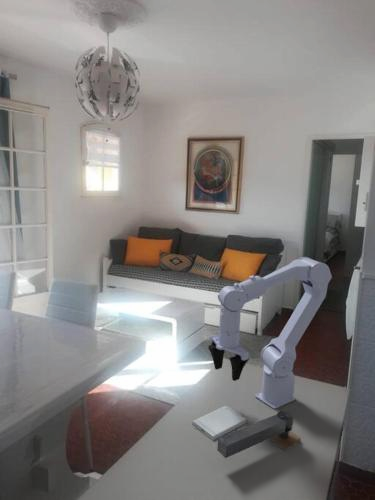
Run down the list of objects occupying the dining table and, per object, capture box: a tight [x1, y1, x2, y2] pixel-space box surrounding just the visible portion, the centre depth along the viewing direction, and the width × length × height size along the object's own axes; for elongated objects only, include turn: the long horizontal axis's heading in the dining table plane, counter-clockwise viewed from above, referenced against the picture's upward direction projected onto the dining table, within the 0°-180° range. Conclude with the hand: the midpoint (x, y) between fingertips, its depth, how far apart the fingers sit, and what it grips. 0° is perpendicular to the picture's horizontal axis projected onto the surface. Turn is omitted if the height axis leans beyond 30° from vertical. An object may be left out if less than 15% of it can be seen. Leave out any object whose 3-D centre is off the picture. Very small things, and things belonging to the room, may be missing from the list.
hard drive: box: [191, 405, 247, 441], centre depth 103 cm, size 2×8×12 cm
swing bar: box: [216, 410, 294, 459], centre depth 91 cm, size 22×4×3 cm, turn 123°
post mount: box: [268, 430, 302, 451], centre depth 97 cm, size 6×6×3 cm
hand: (226, 373), depth 110 cm, fingers open, 7 cm apart
